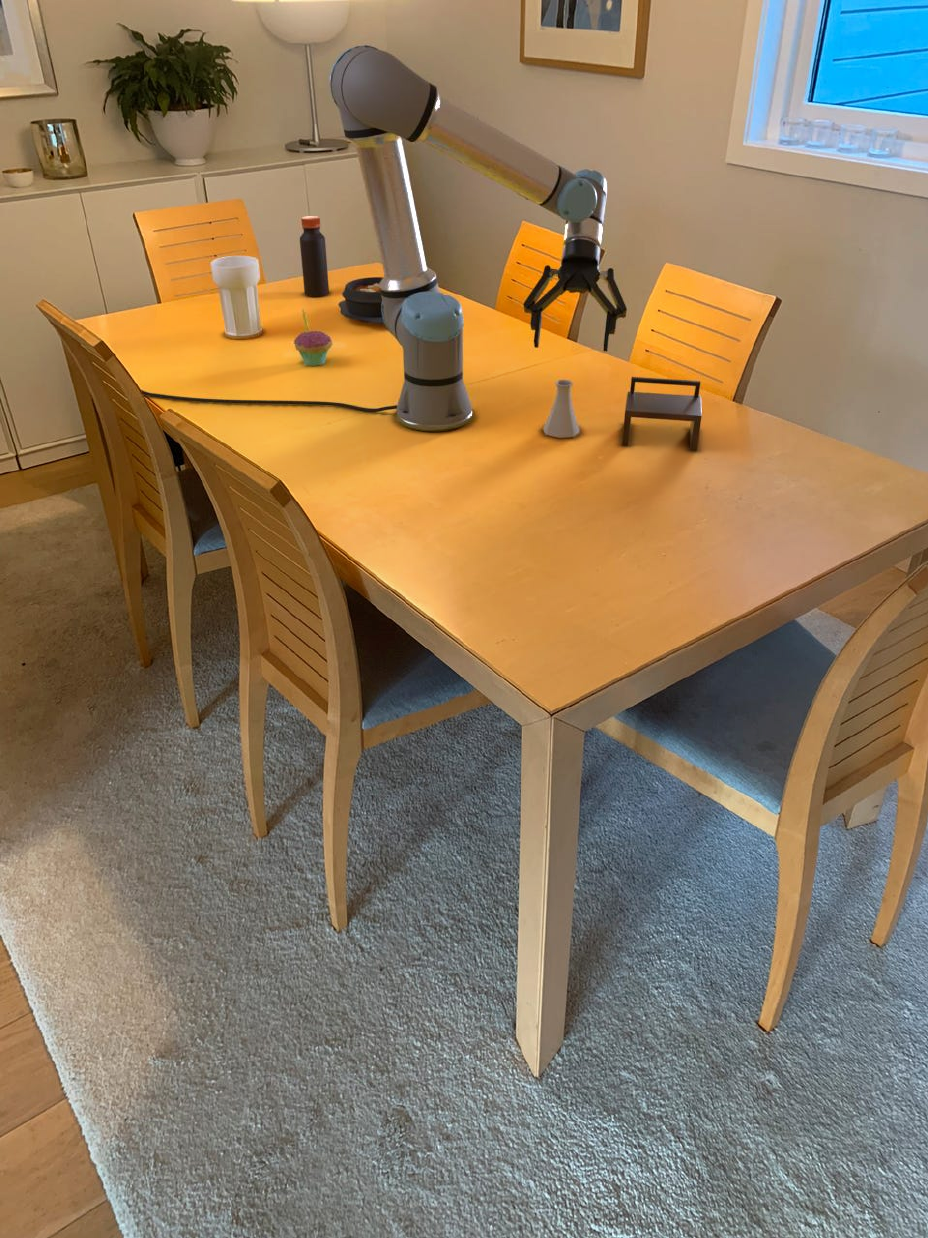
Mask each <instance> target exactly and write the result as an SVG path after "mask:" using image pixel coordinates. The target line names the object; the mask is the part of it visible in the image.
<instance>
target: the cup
mask: <svg viewBox="0 0 928 1238" xmlns="http://www.w3.org/2000/svg"><path fill="white" fill-rule="evenodd" d="M209 264H210V269H211V274H212V280H213V282H214V284H215V285H216V286H217V288H218V294H219V299H220V305H221V312H222V317H223V322H224V329H225V330H224V334H225V336H226V338H229V339H233V340H249V339H254V338H258V337H259V336H262V335H263V328H262V325H261V315H260V314H261V313H260V303H259V302H260V301H259V292H258V284H259V282H260V279H261V273H260V262H259V259H258V258H257V257H254V256H250V255H229V256H222V257H218V258H214V259H212V260H211V262H210V263H209Z"/></svg>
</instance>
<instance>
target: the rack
mask: <svg viewBox="0 0 928 1238" xmlns="http://www.w3.org/2000/svg"><path fill="white" fill-rule="evenodd" d="M636 383H639V384H640V383H641V384H655V385H656V384H657V385H673V386H686V387H689V386H690V387H695V388H694V393H693V395H686V394H671V393H655V392H642V391H641V392H640V391H635V390H636ZM700 388H701V381H700V380H690V379H688V380H687V379H672V378H657V377H641V376H631V380H630V388H629V391H627V394H626V400H625V401H626V402H625V409H624V417H623V427H622V428H623V429H622V438H621V439H622V440H621V446H624V447H628V446H629V440H630V434H631V424H632V423H631V422H632V418H637V419H654V420H667V421H681V422H682V421H683V422H690V425H689V451H690V452H691V451H692V452H693V451H694V452H697V451H698V443H699V438H700V437H699V436H700V430H701V424H702V418H703V417H702V416H703V415H702V413H703V411H702V396H701V395H700Z"/></svg>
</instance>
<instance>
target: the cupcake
mask: <svg viewBox="0 0 928 1238" xmlns="http://www.w3.org/2000/svg"><path fill="white" fill-rule="evenodd" d="M301 310H302V318H303V322H304V327H305V331H303V332H301V333H299V334H298V335H297V337H295V339H294V340H293V344H294V348H295V350H296V351H298V353H299V355H300V357H301V359H302V361H303V364H304V365H306V366H310V367H318V366H322V365H324V364H325V363H326V358H327V355H328V351H329V350H330V349H331V348H332V346H333V340H332V337H330V335H328V334H327V333H325V332H323V331H321V330H310V328H309V323H308V320H307V319H308V318H307V315H306V312H305V311H304V309H303V308H302V309H301Z"/></svg>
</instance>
